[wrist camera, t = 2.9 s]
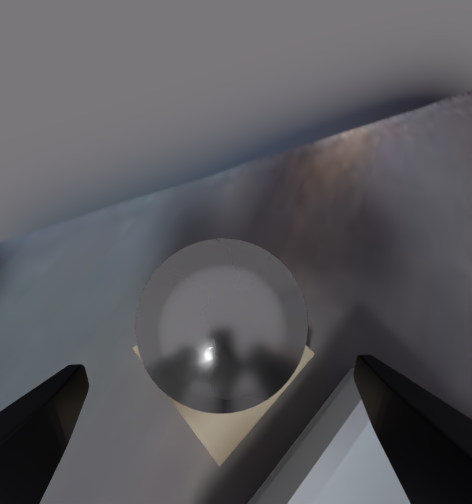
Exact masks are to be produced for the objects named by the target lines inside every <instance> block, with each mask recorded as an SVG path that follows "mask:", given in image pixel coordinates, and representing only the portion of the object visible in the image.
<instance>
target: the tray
mask: <svg viewBox="0 0 472 504" xmlns="http://www.w3.org/2000/svg"><path fill="white" fill-rule="evenodd" d="M353 373H354V368H351V369H350V370H349V371H348V373H347V374H346V375H345V377H344V378H343V379H342V380H341V382H340V383H339V384H338V386H337V387H336V388H335V390H334V391H333V392H332V394H331V395H330V396H329V397H328V399H327V400H326V401H325V403H324V404H323V405H322V407H321V408H320V409H319V411H318V412H317V413H316V414H315V416H314V417H313V418H312V420H311V421H310V422H309V424H308V425H307V426H306V428H305V429H304V430H303V431H302V433H301V434H300V435H299V437H298V438H297V439H296V441H295V442H294V443H293V445H292V446H291V447H290V448H289V450H288V451H287V452H286V454H285V455H284V456H283V458H282V459H281V460H280V461H279V463H278V464H277V465H276V467H275V468H274V469H273V471H272V472H271V473H270V475H269V476H268V477H267V478H266V480H265V481H264V482H263V484H262V485H261V486H260V488H259V489H258V490H257V492H256V493H255V494H254V495H253V497H252V498H251V499H250V501H249V502H248V503H247V504H410V502H409V500H408V498H407V496H406V494H405V492H404V490H403V488H402V486H401V484H400V482H399V480H398V478H397V476H396V474H395V472H394V470H393V468H392V466H391V464H390V462H389V460H388V458H387V456H386V454H385V452H384V450H383V448H382V446H381V444H380V442H379V440H378V438H377V436H376V434H375V431H374V429H373V427H372V425H371V422H370V420H369V417H368V415H367V412H366V409H365V407H364V404H363V402H362V399H361V397H360V394H359V392H358V389H357V387H356V384H355V381H354V377H353Z"/></svg>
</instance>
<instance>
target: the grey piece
mask: <svg viewBox="0 0 472 504" xmlns="http://www.w3.org/2000/svg"><path fill="white" fill-rule="evenodd" d="M307 333H308V315H307V309H306V304H305V300H304V297H303V294H302V292H301V289H300V287H299V285H298V283H297V281H296V280H295V278H294V276H293V275H292V273H291V272H290V271H289V270H288V268H287V267H286V266H285V265H284V264H283V263H282V262H281V261H280V260H279V259H278V258H276V257H275V256H274V255H273V254H271V253H270V252H268V251H267V250H265V249H263V248H261V247H259V246H257V245H255V244H252V243H249V242H246V241H242V240H237V239H228V238H220V239H210V240H204V241H200V242H197V243H194V244H191V245H189V246H187V247H185V248H183V249H181V250H179V251H177V252H176V253H174V254H173V255H172V256H170V257H169V258H168V259H167V260H165V261H164V262H163V263H162V264H161V265H160V266H159V267H158V269H157V270H156V271H155V272H154V273H153V275H152V276H151V278H150V279H149V281H148V283H147V284H146V286H145V288H144V290H143V293H142V295H141V298H140V300H139V304H138V308H137V313H136V321H135V334H136V341H137V347H138V351H139V354H140V358H141V360H142V362H143V364H144V367H145V369H146V370H147V372H148V374H149V375H150V377H151V378H152V380H153V381H154V382H155V383H156V384H157V386H158V387H159V388H160V389H161V390H162V391H163V392H164V393H166V394H167V395H168V396H169V397H170V398H172V399H174V400H175V401H177V402H178V403H180V404H182V405H184V406H186V407H189V408H191V409H194V410H198V411H201V412H205V413H215V414H224V413H234V412H239V411H244V410H247V409H249V408H252V407H255V406H257V405H259V404H261V403H262V402H264V401H266V400H268V399H269V398H270V397H272V396H273V395H274V394H276V393H277V392H278V391H279V390H280V389H281V388H282V387H283V386H284V385H285V384H286V383H287V382H288V380H289V379H290V378H291V376H292V375H293V374H294V372H295V370H296V368H297V366H298V365H299V363H300V361H301V358H302V355H303V353H304V349H305V345H306V341H307Z"/></svg>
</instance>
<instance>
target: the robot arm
mask: <svg viewBox="0 0 472 504" xmlns="http://www.w3.org/2000/svg"><path fill="white" fill-rule="evenodd" d="M353 377H354V381H355V384H356V387H357V389H358V392H359V394H360V397H361V399H362V402H363V404H364V407H365V409H366V412H367V415H368V417H369V420H370V422H371V425H372V427H373V429H374V431H375V434H376V436H377V438H378V440H379V442H380V444H381V446H382V448H383V450H384V452H385V454H386V456H387V458H388V460H389V462H390V464H391V466H392V468H393V470H394V472H395V474H396V476H397V478H398V480H399V482H400V484H401V486H402V488H403V490H404V492H405V494H406V496H407V498H408V500H409V502H410V504H472V419H470V418H468V417H467V416H465V415H464V414H462V413H461V412H459V411H458V410H456V409H454V408H453V407H451V406H450V405H448V404H447V403H445V402H444V401H442V400H440V399H439V398H437V397H436V396H434V395H433V394H431V393H430V392H428V391H426V390H425V389H423V388H422V387H420V386H419V385H417V384H416V383H414V382H412V381H411V380H409V379H408V378H406V377H405V376H403V375H402V374H400V373H398V372H397V371H395V370H394V369H392V368H391V367H389V366H388V365H386V364H385V363H383V362H381V361H380V360H378V359H377V358H375V357H374V356H372V355H358V356H357V359H356V363H355V368H354V373H353ZM88 389H89V382H88V378H87V374H86V370H85V367H84V366H83V365H81V364H76V365H68V366H67V367H65V368H64V369H62V370H61V371H59V372H58V373H56V374H55V375H53V376H52V377H50V378H49V379H47V380H46V381H44V382H43V383H42V384H40V385H39V386H37V387H36V388H34V389H33V390H31V391H30V392H28V393H27V394H25V395H24V396H22V397H21V398H19V399H18V400H17V401H15V402H14V403H12V404H11V405H9V406H8V407H6V408H5V409H3V410H2V411H0V504H39V503H40V501H41V499H42V497H43V495H44V493H45V491H46V489H47V487H48V485H49V482H50V480H51V478H52V476H53V474H54V472H55V470H56V468H57V466H58V464H59V462H60V460H61V458H62V456H63V454H64V451H65V449H66V447H67V445H68V442H69V440H70V438H71V435H72V432H73V430H74V427H75V425H76V422H77V419H78V417H79V414H80V411H81V409H82V406H83V403H84V401H85V398H86V395H87V393H88Z"/></svg>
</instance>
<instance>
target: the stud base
mask: <svg viewBox="0 0 472 504" xmlns="http://www.w3.org/2000/svg"><path fill="white" fill-rule="evenodd" d="M133 350H134V351H135V352H136V354H137V355H138V356H139V358H140V354H139V351H138V347H137V345H136V346H135V347H134V348H133ZM313 356H314V353H313V351H312V350H311V349H310V348H309V347H308V346H307V345H305V349H304V353H303V355H302V358H301V361H300V363H299V365H298V366H297V368H296V370H295V372H294V374H293V375H292V376H291V378H290V379H289V380H288V382H287V383H286V384H285V385H284V386H283V387H282V388H281V389H280V390H279V391H278V392H277V393H276V394H274V395H273V396H272V397H270V398H269V399H268V400H266V401H264V402H262V403H261V404H259V405H257V406H255V407H252V408H249V409H247V410H244V411H239V412H234V413H224V414H215V413H205V412H201V411H198V410H194V409H191V408H189V407H186V406H184V405H182V404H180V403H178V402H177V401H175V400H174V399H172V398H170V397H169V396H168V395H167V394H166V395H167V396H168V397H169V399H170V400H171V401H172V403H173V404H174V405H175V407H176V408H177V410H178V411H179V412H180V414H181V415H182V416H183V418H184V419H185V420H186V422H187V423H188V424H189V426H190V427H191V429H192V430H193V431H194V433H195V434H196V435H197V437H198V438H199V439H200V441H201V442H202V443H203V445H204V446H205V448H206V449H207V450H208V452H209V453H210V454H211V456H212V457H213V458H214V460H215V461H216V463H217V464H218V465H219V467H220V466H221V464H222V463H223V462H224V461H225V460H226V458H227V457H228V456H229V455H230V454H231V453H232V451H233V450H234V449H235V448H236V447H237V445H238V444H239V443H240V442H241V441H242V440H243V438H244V437H245V436H246V435H247V434H248V432H249V431H250V430H251V429H252V428H253V427H254V425H255V424H256V423H257V422H258V421H259V419H260V418H261V417H262V416H263V415H264V414H265V412H266V411H267V410H268V409H269V408H270V406H271V405H272V404H273V403H274V402H275V401H276V399H277V398H278V397H279V396H280V395H281V393H282V392H283V391H284V390H285V389H286V388H287V386H288V385H289V384H290V383H291V382H292V380H293V379H294V378H295V377H296V376H297V375H298V373H299V372H300V371H301V370H302V369H303V367H304V366H305V365H306V364H307V363H308V362H309V360H310V359H311V358H312V357H313ZM140 359H141V358H140ZM141 361H142V360H141Z"/></svg>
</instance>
